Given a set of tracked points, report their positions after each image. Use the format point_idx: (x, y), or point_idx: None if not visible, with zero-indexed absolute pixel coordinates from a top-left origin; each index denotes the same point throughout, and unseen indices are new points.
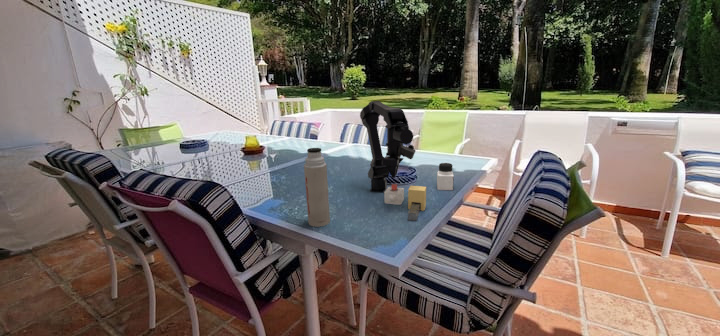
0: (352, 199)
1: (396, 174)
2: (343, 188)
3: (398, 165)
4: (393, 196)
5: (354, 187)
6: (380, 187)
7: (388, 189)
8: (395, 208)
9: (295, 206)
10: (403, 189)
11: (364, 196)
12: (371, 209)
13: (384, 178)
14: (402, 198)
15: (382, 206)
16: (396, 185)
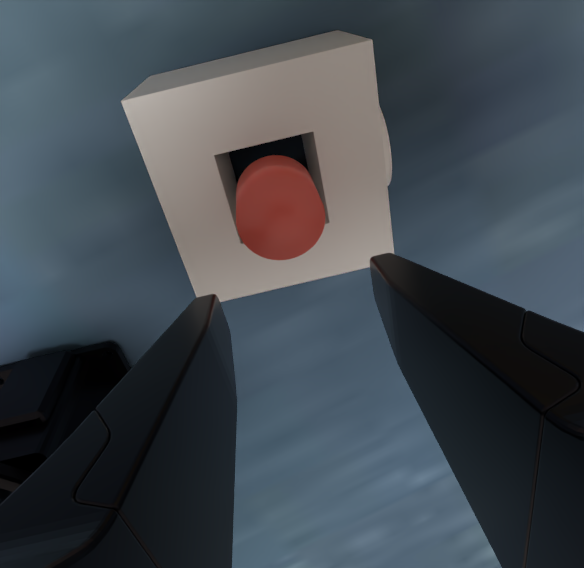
0: (375, 432)
1: (215, 302)
2: None
3: (134, 460)
4: (382, 135)
5: None
6: (102, 395)
7: (286, 264)
8: (454, 42)
9: None
10: (166, 89)
11: (284, 404)
12: (527, 236)
13: (11, 453)
14: (242, 57)
15: (439, 187)
16: (288, 181)
